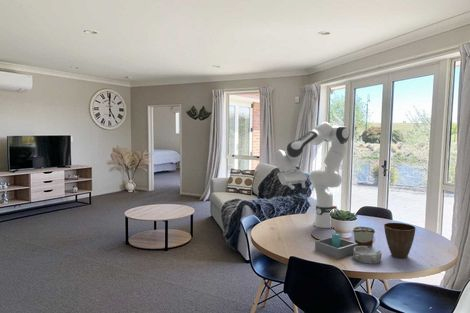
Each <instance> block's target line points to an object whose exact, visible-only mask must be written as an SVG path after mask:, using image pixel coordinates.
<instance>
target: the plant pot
mask: <svg viewBox="0 0 470 313" xmlns="http://www.w3.org/2000/svg"><path fill="white" fill-rule="evenodd" d="M383 227H384V228H383V230H384V234H385V238H386V243H387V245H388V249H389V252H390V254H391V256H392V257H394V258H397V259H407V258H408V256H409V254H410V251H411V248H412V245H413V242H414V238H415V235H416V229H417V228H416V227H415V225H412V224H410V223H409V224H408V223H404V222H386V223H384V225H383Z"/></svg>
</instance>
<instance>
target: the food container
mask: <svg viewBox="0 0 470 313" xmlns="http://www.w3.org/2000/svg"><path fill="white" fill-rule="evenodd" d="M352 233H353V237H354V242H355V243H358V246H367V247H368V248H369V247H373V242H374V236H375V233H376V231H375V228H373V227H372V228H371V227H368V226H356V227H355V226H354V227H353V229H352Z"/></svg>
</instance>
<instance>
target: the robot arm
mask: <svg viewBox="0 0 470 313" xmlns="http://www.w3.org/2000/svg"><path fill="white" fill-rule="evenodd" d="M350 134H351V133H350V129H349V128H348V127H347V126H344V125H333V126H332V125H331V124H330V123H329V122H327V121H323V122H321V123H319V124H317V125H316V126H315V127H313V128H312V129H311V130H310V131H307V132H306V133H304V135H302V136H300V137H299V138H298V139H296V140H293V141H291V142H289V143H288V144H287V146H286V150H281V149H278V150H276V151H275V152H274V153H273V155H272V159H273V161H274V164H275V165H276V167H277V169H278V170H279V171H278V172H277V173H276V175H277V177H278V180H279V182H280V183H281V185H282V186H288V187H289V188H290V189H291V190H295V189H296V186H294V185H295V184H301V188H302V189H306V187H307V186H306V184H305V183H306V181H307V180H308V177H307V175H305V172H304V171H303V170H302V168H301V167H300V166H297V165H299V164H300V162H301V160H302V156H303V155H302V154H303V151H304V148H305V147H306V146H308V145H309V144H311V145H313V146H318V145H321V144H322V143H323V142H328V143H329V142H330V143H331V146H330V147H329V149H328V152H327V153H326V156H325V158H324V161H323V163H324V165H325V166H326V168H325V170H321V169H315V170H312V171H311V172H310V173H309V181H310V182H311V184H312V186H313V188H314V190H315V194H316V205H315V217H314V221H313V224H314V226H315V227H317V228H322V229H332V228H331V224H330V215H329V213H330V211H331V210H332V209H334V210H336V209H338V206H336V205H333V204H334V202H333V201H334V196H333V194H332V192H331V191H330V190H329V188H330V189H331V188H337V187H340V185H341V184H342V176H341V175H340V166H341V164H342V161H343V159H344V157H345V154H346V150H347V144H346V143H347V142H348V140H349V138H350Z"/></svg>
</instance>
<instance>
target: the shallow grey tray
mask: <svg viewBox="0 0 470 313" xmlns="http://www.w3.org/2000/svg"><path fill="white" fill-rule="evenodd" d="M314 244H315V245H314V250H315V251H317V252H320V253H322V254H325V255H327V256H330V257H333V258H335V259H337V260H338V259H342V258H344V257H348V256H350V255H353V249H354V248H355V247H357V246H358V243H355V241H351V240H348V239H344V238H342V237H340V248H336V247H333V246H332V236H329V237H326V238H321V239H319V240H315V241H314Z"/></svg>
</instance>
